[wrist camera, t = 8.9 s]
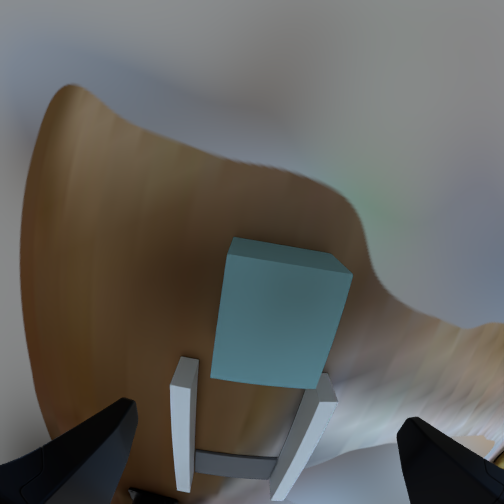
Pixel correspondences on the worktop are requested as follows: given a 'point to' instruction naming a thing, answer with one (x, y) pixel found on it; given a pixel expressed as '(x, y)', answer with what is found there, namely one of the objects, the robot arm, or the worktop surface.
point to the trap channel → (251, 467)
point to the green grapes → (500, 461)
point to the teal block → (277, 314)
